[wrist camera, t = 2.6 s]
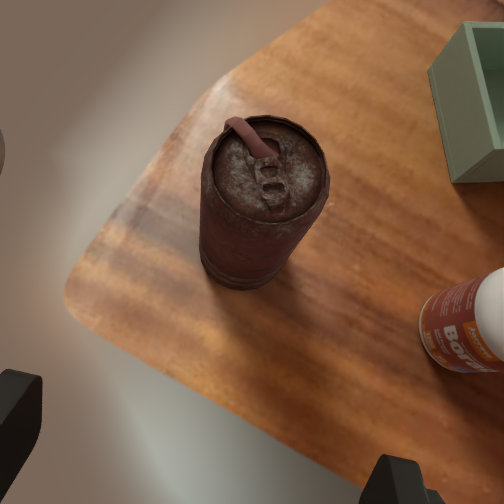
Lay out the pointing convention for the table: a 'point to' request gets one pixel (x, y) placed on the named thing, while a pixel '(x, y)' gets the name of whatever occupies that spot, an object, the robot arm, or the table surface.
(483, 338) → the pill bottle
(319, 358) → the table surface
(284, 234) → the can
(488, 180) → the green tray box
